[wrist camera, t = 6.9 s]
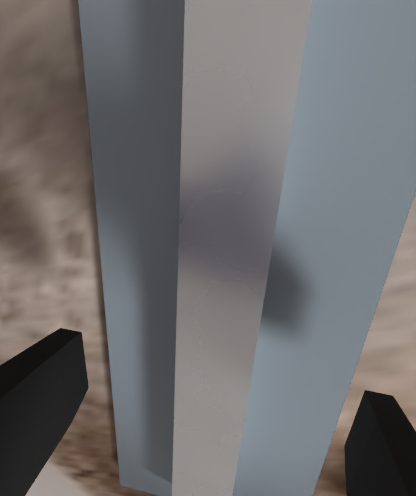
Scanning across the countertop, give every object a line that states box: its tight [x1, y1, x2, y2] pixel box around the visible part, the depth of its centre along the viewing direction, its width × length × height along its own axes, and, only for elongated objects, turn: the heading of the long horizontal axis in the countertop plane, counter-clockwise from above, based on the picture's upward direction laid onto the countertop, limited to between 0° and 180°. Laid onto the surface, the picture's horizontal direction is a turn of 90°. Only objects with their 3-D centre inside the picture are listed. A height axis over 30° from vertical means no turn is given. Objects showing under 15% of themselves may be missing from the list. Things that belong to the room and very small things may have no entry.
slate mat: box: [78, 0, 416, 496], centre depth 12 cm, size 20×8×1 cm, turn 176°
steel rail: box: [172, 0, 312, 496], centre depth 10 cm, size 18×2×2 cm, turn 176°
